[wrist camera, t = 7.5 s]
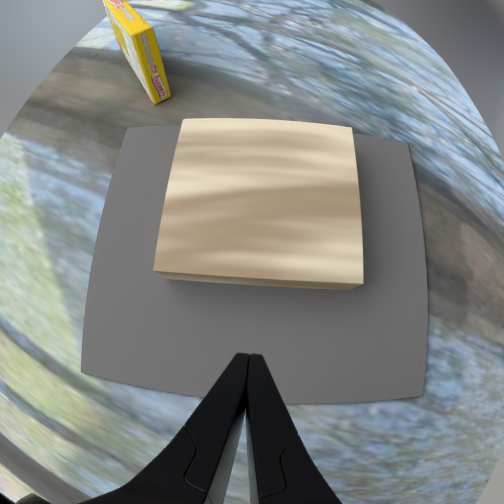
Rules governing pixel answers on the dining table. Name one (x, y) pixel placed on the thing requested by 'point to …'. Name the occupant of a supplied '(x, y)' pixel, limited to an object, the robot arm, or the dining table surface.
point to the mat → (259, 294)
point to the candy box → (139, 48)
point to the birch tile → (262, 205)
